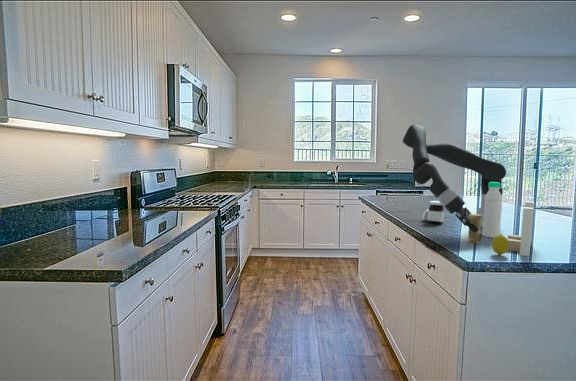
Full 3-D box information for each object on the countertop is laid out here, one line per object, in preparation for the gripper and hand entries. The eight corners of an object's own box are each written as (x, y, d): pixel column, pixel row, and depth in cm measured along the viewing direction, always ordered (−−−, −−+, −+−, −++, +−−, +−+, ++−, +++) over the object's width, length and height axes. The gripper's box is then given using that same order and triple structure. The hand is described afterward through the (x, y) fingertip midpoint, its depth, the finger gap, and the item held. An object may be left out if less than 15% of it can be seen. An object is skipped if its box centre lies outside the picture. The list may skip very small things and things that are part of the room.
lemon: (487, 253, 136) (489, 232, 135) (501, 252, 137) (502, 232, 136) (497, 257, 131) (498, 236, 130) (511, 257, 131) (513, 236, 130)
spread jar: (441, 225, 187) (442, 203, 185) (419, 222, 193) (420, 201, 191) (445, 221, 197) (446, 200, 195) (424, 219, 203) (425, 199, 201)
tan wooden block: (468, 242, 152) (469, 214, 151) (469, 240, 155) (471, 213, 154) (480, 244, 149) (481, 216, 148) (481, 242, 153) (483, 214, 151)
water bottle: (497, 235, 165) (501, 181, 162) (501, 238, 158) (505, 183, 155) (480, 234, 167) (484, 181, 164) (483, 237, 160) (487, 182, 157)
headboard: (504, 252, 137) (507, 206, 135) (508, 241, 154) (511, 200, 152) (529, 256, 132) (533, 208, 130) (530, 243, 150) (534, 201, 148)
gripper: (454, 197, 149) (483, 227, 143) (460, 193, 160) (487, 221, 155) (440, 208, 152) (468, 238, 147) (447, 204, 164) (473, 231, 159)
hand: (478, 229), depth 151 cm, fingers open, 8 cm apart
